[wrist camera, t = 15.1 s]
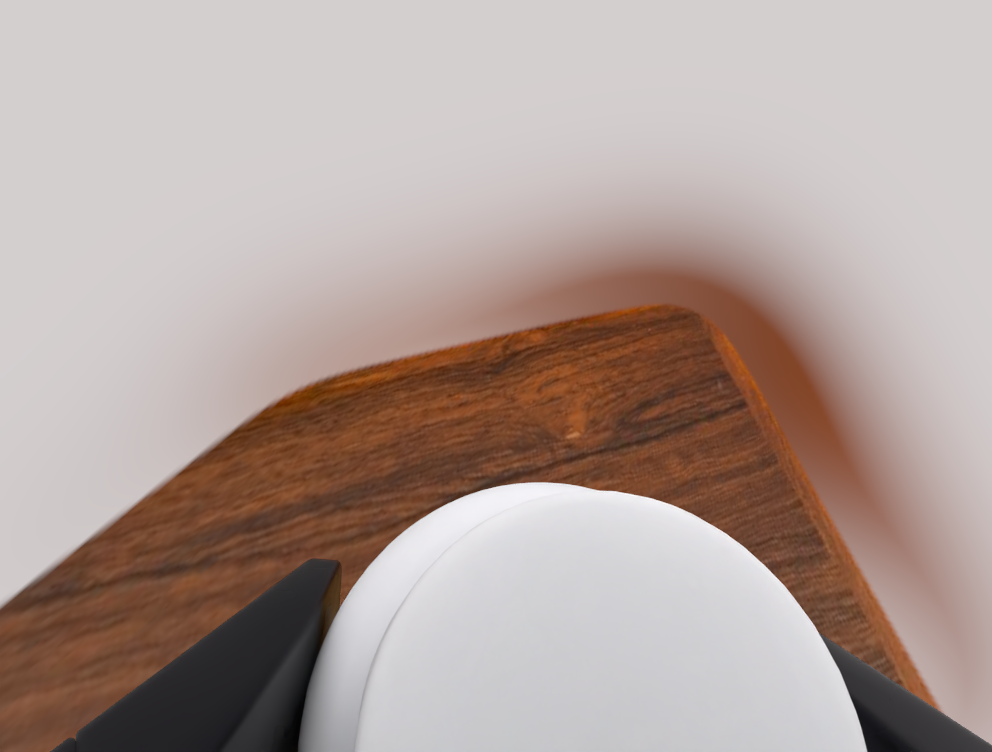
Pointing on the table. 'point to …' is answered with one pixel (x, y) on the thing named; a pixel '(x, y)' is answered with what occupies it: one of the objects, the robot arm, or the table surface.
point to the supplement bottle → (572, 638)
